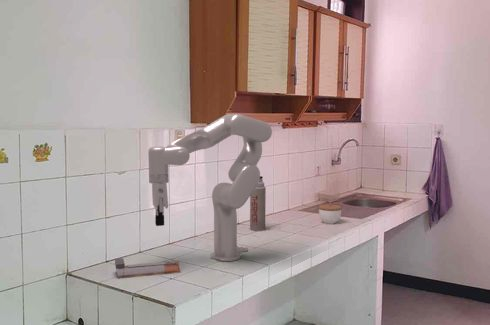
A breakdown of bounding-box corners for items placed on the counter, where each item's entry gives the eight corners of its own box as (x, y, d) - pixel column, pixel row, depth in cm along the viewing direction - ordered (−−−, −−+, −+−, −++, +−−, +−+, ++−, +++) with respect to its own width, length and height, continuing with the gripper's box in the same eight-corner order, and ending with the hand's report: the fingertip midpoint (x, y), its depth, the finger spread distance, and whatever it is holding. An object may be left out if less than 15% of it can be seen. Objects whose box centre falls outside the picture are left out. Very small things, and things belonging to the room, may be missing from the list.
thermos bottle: (257, 231, 256) (258, 177, 253) (246, 229, 262) (247, 176, 259) (268, 229, 262) (268, 176, 259) (257, 226, 267) (257, 175, 265)
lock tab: (123, 262, 188) (123, 258, 187) (124, 268, 181) (124, 263, 180) (114, 263, 187) (114, 258, 186) (116, 268, 180) (116, 264, 179)
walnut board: (174, 264, 200) (174, 261, 200) (181, 275, 186) (181, 272, 186) (115, 269, 193) (115, 266, 193) (118, 281, 179) (117, 278, 179)
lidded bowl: (314, 221, 282) (314, 202, 281) (332, 219, 287) (332, 200, 286) (326, 225, 271) (327, 205, 269) (345, 223, 276) (346, 204, 275)
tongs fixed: (174, 266, 194) (174, 258, 194) (178, 271, 187) (178, 263, 187) (116, 271, 187) (116, 263, 187) (117, 277, 181) (117, 269, 180)
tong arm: (178, 266, 193) (177, 260, 193) (179, 268, 190) (179, 262, 190) (127, 270, 188) (127, 264, 188) (128, 272, 185) (128, 267, 185)
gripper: (171, 180, 187) (172, 228, 189) (165, 176, 202) (166, 220, 203) (151, 181, 185) (152, 230, 187) (146, 176, 199) (148, 222, 201)
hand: (159, 225), depth 195 cm, fingers closed
